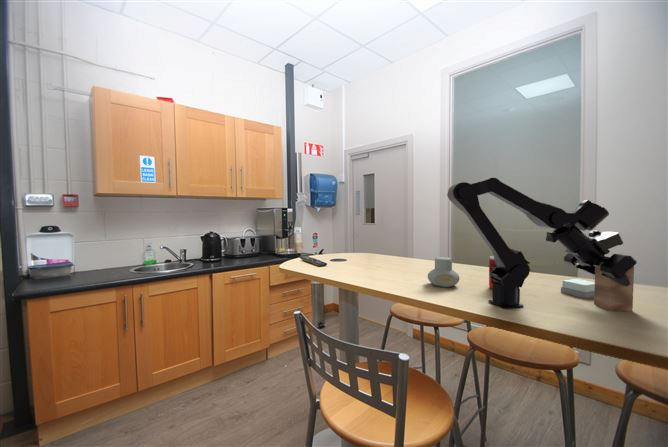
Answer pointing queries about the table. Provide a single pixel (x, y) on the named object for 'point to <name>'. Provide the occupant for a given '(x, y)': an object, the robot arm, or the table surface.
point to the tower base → (577, 293)
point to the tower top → (579, 285)
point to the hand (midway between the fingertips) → (618, 282)
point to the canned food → (491, 267)
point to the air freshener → (443, 273)
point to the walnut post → (613, 292)
